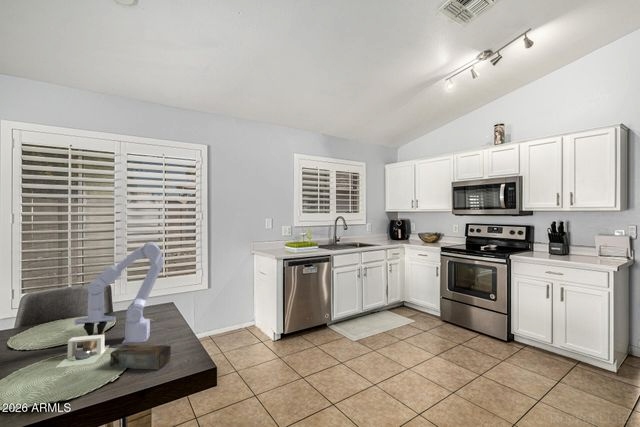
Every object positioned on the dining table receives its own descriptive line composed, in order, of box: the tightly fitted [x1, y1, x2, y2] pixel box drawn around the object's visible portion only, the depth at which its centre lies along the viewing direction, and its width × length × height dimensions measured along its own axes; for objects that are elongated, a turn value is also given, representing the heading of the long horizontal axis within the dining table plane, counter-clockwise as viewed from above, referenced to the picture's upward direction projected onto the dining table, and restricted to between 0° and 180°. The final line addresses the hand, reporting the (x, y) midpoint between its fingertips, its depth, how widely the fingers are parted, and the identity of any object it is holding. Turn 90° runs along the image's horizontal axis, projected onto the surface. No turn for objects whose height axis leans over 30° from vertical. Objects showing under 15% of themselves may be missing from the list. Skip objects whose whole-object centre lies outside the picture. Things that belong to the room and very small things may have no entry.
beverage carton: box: [109, 344, 172, 371], centre depth 117 cm, size 8×19×7 cm, turn 87°
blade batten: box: [82, 329, 105, 350], centre depth 131 cm, size 2×16×5 cm, turn 17°
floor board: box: [54, 344, 111, 368], centre depth 122 cm, size 12×17×1 cm
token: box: [75, 348, 92, 360], centre depth 121 cm, size 5×5×2 cm
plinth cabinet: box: [67, 333, 106, 358], centre depth 124 cm, size 11×4×7 cm, turn 107°
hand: (95, 339), depth 132 cm, fingers closed on blade batten, 2 cm apart
